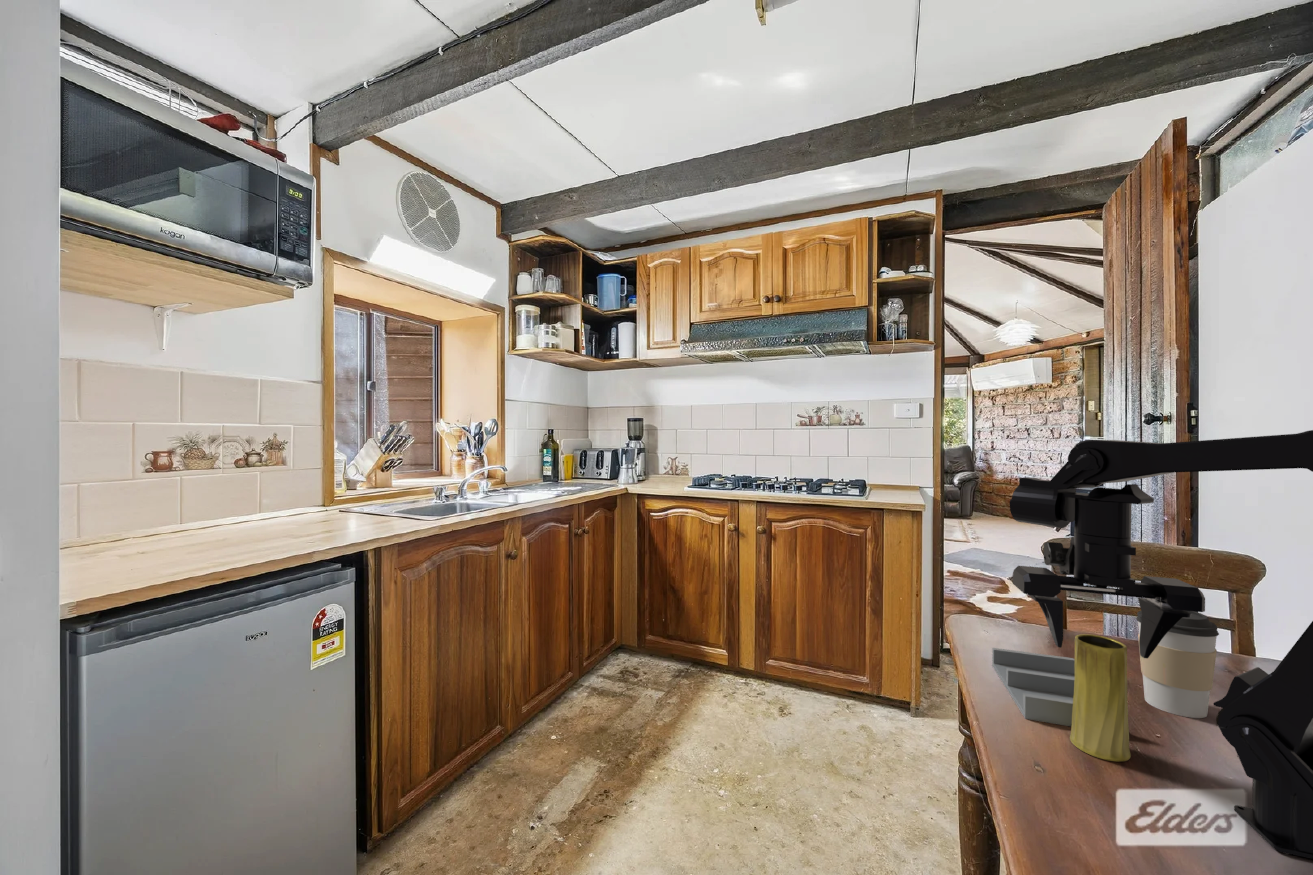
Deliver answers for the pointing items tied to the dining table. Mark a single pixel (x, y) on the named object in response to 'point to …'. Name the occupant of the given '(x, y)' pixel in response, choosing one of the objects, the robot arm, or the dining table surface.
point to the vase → (1100, 698)
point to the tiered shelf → (1038, 684)
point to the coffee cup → (1181, 667)
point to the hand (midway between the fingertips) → (1100, 651)
